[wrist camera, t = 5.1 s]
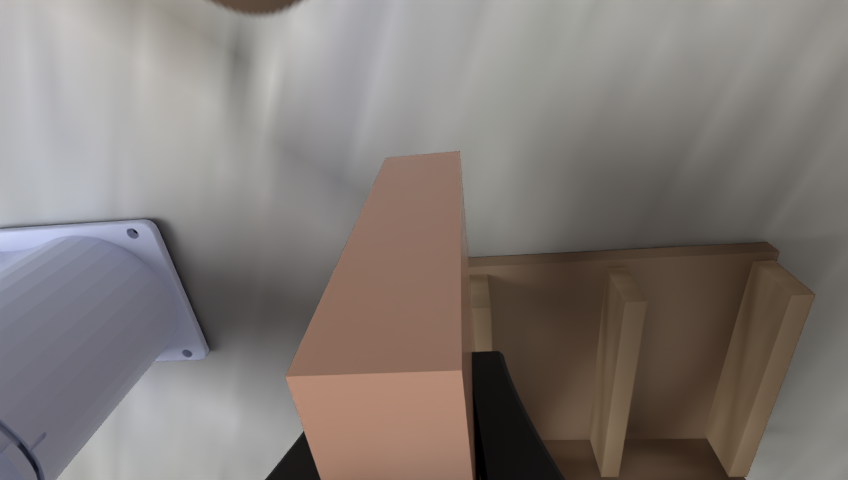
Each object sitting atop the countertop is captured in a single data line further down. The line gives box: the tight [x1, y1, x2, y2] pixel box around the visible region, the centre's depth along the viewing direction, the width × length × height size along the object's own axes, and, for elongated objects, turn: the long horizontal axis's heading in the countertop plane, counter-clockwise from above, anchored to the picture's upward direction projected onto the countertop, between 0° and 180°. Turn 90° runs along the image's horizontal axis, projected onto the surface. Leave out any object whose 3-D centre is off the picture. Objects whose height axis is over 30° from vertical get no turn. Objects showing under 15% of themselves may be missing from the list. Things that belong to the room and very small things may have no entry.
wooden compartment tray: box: [468, 242, 815, 480], centre depth 21 cm, size 18×12×4 cm, turn 96°
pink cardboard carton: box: [285, 151, 481, 480], centre depth 10 cm, size 2×8×8 cm, turn 7°
